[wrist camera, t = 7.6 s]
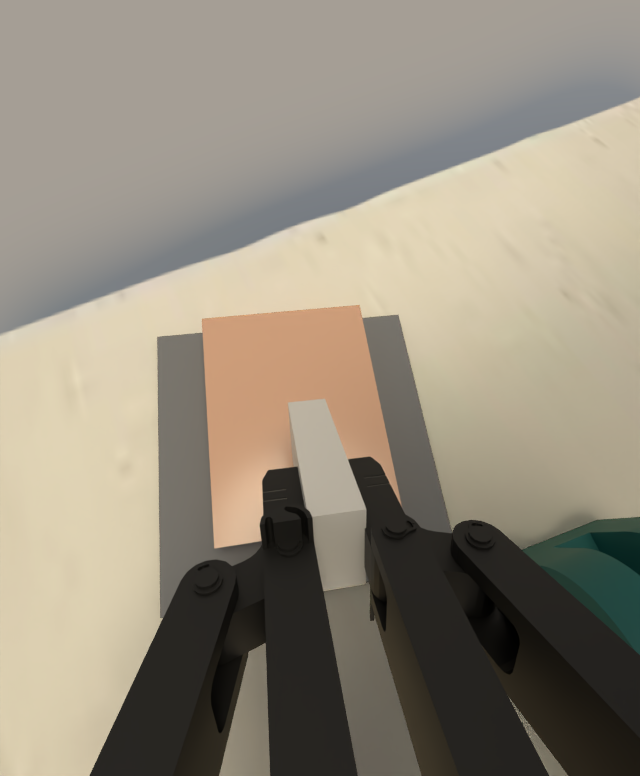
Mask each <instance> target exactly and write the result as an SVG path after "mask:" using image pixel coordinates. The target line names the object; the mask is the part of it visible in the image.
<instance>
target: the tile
mask: <svg viewBox="0 0 640 776" xmlns="http://www.w3.org/2000/svg"><path fill="white" fill-rule="evenodd" d="M202 331H203V349H204V367H205V386H206V404H207V423H208V441H209V459H210V478H211V496H212V515H213V533H214V549H215V548H223V547H230V546H236V545H242V544H249V543H255V542H262V540H261V532H260V521H261V517H262V516H263V491H262V480H263V478H264V476H265V475H266V473H267V471H268V470H273V469H281V468H289V467H294V465H293V458H292V446H291V434H290V423H289V411H288V402H297V401H307V400H316V399H325V400H326V403H327V406H328V408H329V411H330V414H331V416H332V419H333V422H334V424H335V427H336V430H337V432H338V435H339V438H340V440H341V443H342V446H343V448H344V451H345V454H346V456H347V459H353V458H361V457H369V456H371V457H372V458H373V459H374V460H376V461H377V462H378V463H380V464H381V466H382V468H383V470H384V472H385V475H386V476H387V478H388V480H389V483H390V484H391V486H392V488H393V490H394V492H395V495H396V497H397V499H398V501H399V503H400V505H401V500H400V495H399V490H398V486H397V481H396V476H395V471H394V467H393V462H392V457H391V452H390V448H389V443H388V438H387V433H386V429H385V424H384V419H383V414H382V410H381V405H380V400H379V395H378V391H377V386H376V381H375V376H374V372H373V367H372V362H371V357H370V353H369V348H368V343H367V338H366V334H365V329H364V324H363V319H362V315H361V310H360V305H355V306H343V307H332V308H320V309H309V310H297V311H286V312H274V313H263V314H252V315H240V316H229V317H217V318H206V319H202ZM401 507H402V505H401Z"/></svg>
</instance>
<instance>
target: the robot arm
mask: <svg viewBox="0 0 640 776" xmlns="http://www.w3.org/2000/svg"><path fill="white" fill-rule="evenodd" d="M288 411H289V423H290V434H291V446H292V458H293V465H294V467H289V468H281V469H273V470H268V471H267V473H266V475H265V476H264V478H263V480H262V491H263V516H262V517H261V521H260V532H261V540H262V545H261V547H260V548H259V550H258V551H257V552H256V553H255V554H254V555H253V556H251V557H250V558H248V559H246V560H245V561H243V562H241V563H238V564H236V565H234V566H231V565H230V564H229V563H227V562H226V561H222V560H217V559H215V560H207V561H204V562H202V563H199V564H197V565H195V566H194V567H192V568H191V569H190V570H189V571H187V572H186V574H185V575H184V577H183V578H182V580H181V581H180V583H179V585H178V588H177V590H176V592H175V594H174V596H173V598H172V600H171V603H170V605H169V607H168V609H167V611H166V613H165V615H164V618H163V620H162V622H161V624H160V626H159V628H158V630H157V633H156V635H155V637H154V639H153V641H152V643H151V645H150V647H149V650H148V652H147V654H146V656H145V658H144V660H143V662H142V665H141V667H140V669H139V671H138V673H137V675H136V677H135V680H134V682H133V684H132V686H131V688H130V690H129V692H128V695H127V697H126V699H125V701H124V703H123V705H122V707H121V710H120V712H119V714H118V716H117V718H116V720H115V722H114V724H113V727H112V729H111V731H110V733H109V735H108V737H107V739H106V742H105V744H104V746H103V748H102V750H101V752H100V754H99V757H98V759H97V761H96V763H95V765H94V767H93V769H92V772H91V774H90V776H219V773H220V769H221V765H222V761H223V756H224V752H225V748H226V744H227V740H228V736H229V732H230V728H231V724H232V719H233V715H234V711H235V707H236V703H237V699H238V695H239V691H240V686H241V682H242V678H243V674H244V670H245V666H246V662H247V658H248V652H249V651H251V650H252V649H254V648H256V647H258V646H260V645H262V644H264V643H266V658H267V688H268V718H269V748H270V776H358V775H357V769H356V764H355V759H354V753H353V748H352V743H351V737H350V732H349V727H348V721H347V716H346V711H345V705H344V700H343V694H342V689H341V684H340V678H339V673H338V668H337V662H336V657H335V652H334V646H333V641H332V635H331V630H330V625H329V619H328V614H327V609H326V603H325V598H324V593H323V591H328V590H334V589H340V588H347V587H353V586H359V585H365V584H366V574H367V577H368V581H369V584H370V621H373V620H374V615H375V618H376V622H377V625H378V628H379V632H380V635H381V639H382V642H383V645H384V649H385V652H386V656H387V659H388V662H389V666H390V669H391V673H392V676H393V679H394V683H395V686H396V690H397V693H398V696H399V700H400V703H401V706H402V710H403V713H404V717H405V720H406V723H407V727H408V730H409V734H410V737H411V740H412V744H413V747H414V751H415V754H416V757H417V761H418V764H419V768H420V771H421V774H422V776H549V775H548V773H547V771H546V769H545V767H544V765H543V763H542V761H541V759H540V757H539V755H538V753H537V752H536V750H535V748H534V746H533V744H532V742H531V740H530V738H529V736H528V734H527V732H526V730H525V728H524V726H523V725H522V723H521V721H520V719H519V717H518V715H517V713H516V711H515V709H514V707H513V705H512V703H511V701H510V699H511V700H512V702H513V703H514V704H515V706H516V707H517V708H518V709H519V711H520V712H521V713H522V715H523V716H524V717H525V719H526V720H527V721H528V723H529V724H530V725H531V727H532V728H533V729H534V731H535V732H536V733H537V735H538V736H539V737H540V738H541V740H542V741H543V742H544V744H545V745H546V746H547V748H548V749H549V750H550V752H551V753H552V754H553V756H554V757H555V758H556V760H557V761H558V762H559V763H560V765H561V766H562V767H563V769H564V770H565V771H566V773H567V774H568V775H569V776H640V655H639V654H638V653H637V652H636V651H635V650H634V649H633V648H631V647H630V646H629V645H628V644H627V643H626V642H625V641H624V640H622V639H621V638H620V637H619V636H618V635H617V634H616V633H614V632H613V631H612V630H611V629H610V628H609V627H608V626H607V625H605V624H604V623H603V622H602V621H601V620H600V619H599V618H598V617H596V616H595V615H594V614H593V613H592V612H591V611H590V610H589V609H587V608H586V607H585V606H584V605H583V604H582V603H581V602H580V601H578V600H577V599H576V598H575V597H574V596H573V595H572V594H571V593H569V592H568V591H567V590H566V589H565V588H564V587H563V586H562V585H560V584H559V583H558V582H557V581H556V580H555V579H554V578H553V577H551V576H550V575H549V574H548V573H547V572H546V571H545V570H544V569H542V568H541V567H540V566H539V565H538V564H537V563H536V562H535V561H533V560H532V559H531V558H530V557H529V556H528V555H527V554H526V553H524V552H523V551H522V550H521V549H520V548H519V547H518V546H517V545H515V544H514V543H513V542H512V541H511V540H510V539H509V538H508V537H506V536H505V535H504V534H503V533H502V532H501V531H500V530H498V529H497V528H495V527H494V526H492V525H490V524H488V523H485V522H482V521H476V520H468V521H463V522H461V523H459V524H457V525H456V526H455V528H454V530H453V532H452V533H445V532H436V531H431V530H426V529H424V528H421V527H420V526H419V525H418V523H417V522H416V521H415V520H414V519H412V518H411V517H409V516H407V515H406V514H405V513H404V511H403V509H402V507H401V505H400V503H399V501H398V499H397V497H396V495H395V492H394V490H393V488H392V486H391V484H390V483H389V480H388V478H387V476H386V475H385V472H384V470H383V468H382V466H381V464H380V463H378V462H377V461H376V460H374V459H373V458H372V457H371V456H369V457H361V458H353V459H347V456H346V454H345V451H344V448H343V446H342V443H341V440H340V438H339V435H338V432H337V430H336V427H335V424H334V422H333V419H332V416H331V414H330V411H329V408H328V406H327V403H326V400H325V399H316V400H307V401H297V402H288ZM507 695H508V696H509V697H508V696H507ZM509 698H510V699H509Z"/></svg>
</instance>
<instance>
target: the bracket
mask: <svg viewBox="0 0 640 776" xmlns="http://www.w3.org/2000/svg"><path fill="white" fill-rule="evenodd" d="M522 551H523V552H524V553H526V554H527V555H528V556H529V557H530V558H531V559H532V560H533V561H535V562H536V563H537V564H538V565H539V566H540V567H541V568H542V569H544V570H545V571H546V572H547V573H548V574H549V575H550V576H551V577H553V578H554V579H555V580H556V581H557V582H558V583H559V584H560V585H562V586H563V587H564V588H565V589H566V590H567V591H568V592H569V593H571V594H572V595H573V596H574V597H575V598H576V599H577V600H578V601H580V602H581V603H582V604H583V605H584V606H585V607H586V608H587V609H589V610H590V611H591V612H592V613H593V614H594V615H595V616H596V617H598V618H599V619H600V620H601V621H602V622H603V623H604V624H605V625H607V626H608V627H609V628H610V629H611V630H612V631H613V632H614V633H616V634H617V635H618V636H619V637H620V638H621V639H622V640H624V641H625V642H626V643H627V644H628V645H629V646H630V647H631V648H633V649H634V650H635V651H636V652H637V653H638V654H639V655H640V517H633V518H619V519H604V520H596V521H594V522H591V523H589V524H586V525H583V526H581V527H578V528H576V529H573V530H571V531H568V532H566V533H563V534H561V535H558V536H556V537H553V538H551V539H548V540H546V541H543V542H541V543H538V544H535V545H533V546H530V547H528V548H525V549H523V550H522Z"/></svg>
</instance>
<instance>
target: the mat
mask: <svg viewBox="0 0 640 776" xmlns="http://www.w3.org/2000/svg"><path fill="white" fill-rule="evenodd" d="M362 319H363V324H364V329H365V334H366V338H367V343H368V348H369V353H370V357H371V362H372V367H373V372H374V376H375V381H376V386H377V391H378V395H379V400H380V405H381V410H382V414H383V419H384V424H385V429H386V433H387V438H388V443H389V448H390V452H391V457H392V462H393V467H394V471H395V476H396V481H397V486H398V490H399V495H400V500H401V505H402V509H403V511H404V513H405V514H406V515H407V516H409V517H411V518H412V519H414V520H415V521H416V522H417V523H418V525H419V526H420V527H421V528H424V529H426V530H431V531H436V532H445V533H452V531H451V527H450V523H449V519H448V515H447V511H446V507H445V503H444V499H443V495H442V491H441V487H440V483H439V479H438V474H437V470H436V466H435V462H434V458H433V454H432V450H431V446H430V442H429V438H428V434H427V430H426V426H425V422H424V418H423V414H422V410H421V405H420V401H419V397H418V393H417V389H416V385H415V381H414V377H413V373H412V369H411V365H410V361H409V357H408V353H407V349H406V345H405V341H404V336H403V332H402V328H401V324H400V320H399V316H398V315H391V316H381V317H370V318H362ZM157 344H158V436H159V529H160V618H164V615H165V613H166V611H167V609H168V607H169V605H170V603H171V600H172V598H173V596H174V594H175V592H176V590H177V588H178V585H179V583H180V581H181V580H182V578H183V577H184V575H185V574H186V572H187V571H189V570H190V569H191V568H192V567H194V566H195V565H197V564H199V563H202V562H204V561H207V560H215V559H217V560H222V561H226V562H227V563H229V564H230V565H231V566H234V565H236V564H238V563H241V562H243V561H245V560H246V559H248V558H250V557H251V556H253V555H254V554H255V553H256V552H257V551H258V550H259V548H260V547H261V545H262V542H255V543H249V544H242V545H236V546H230V547H223V548H215V549H214V533H213V515H212V496H211V478H210V459H209V441H208V423H207V404H206V386H205V367H204V349H203V333H195V334H184V335H173V336H162V337H157ZM366 582H369V581H368V577H367V574H366Z"/></svg>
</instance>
